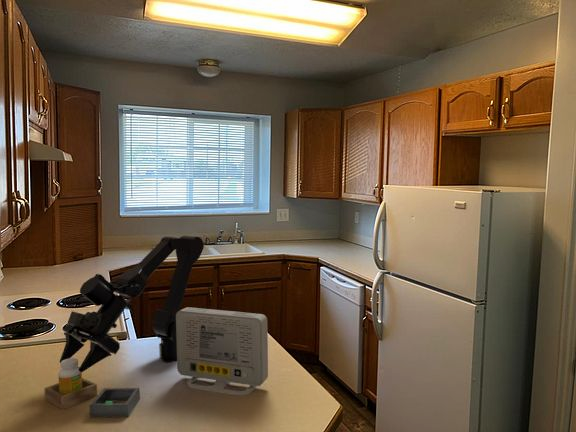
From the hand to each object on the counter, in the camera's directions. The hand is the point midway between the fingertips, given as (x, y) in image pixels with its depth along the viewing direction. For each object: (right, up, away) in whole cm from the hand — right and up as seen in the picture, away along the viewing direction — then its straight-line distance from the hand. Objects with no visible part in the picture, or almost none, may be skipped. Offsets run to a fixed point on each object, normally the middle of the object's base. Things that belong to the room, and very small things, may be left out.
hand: (70, 367), depth 120 cm
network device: (+38, -7, +7) cm, 39 cm away
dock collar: (+14, -8, -5) cm, 17 cm away
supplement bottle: (0, -8, +1) cm, 8 cm away
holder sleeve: (0, -8, +1) cm, 8 cm away
